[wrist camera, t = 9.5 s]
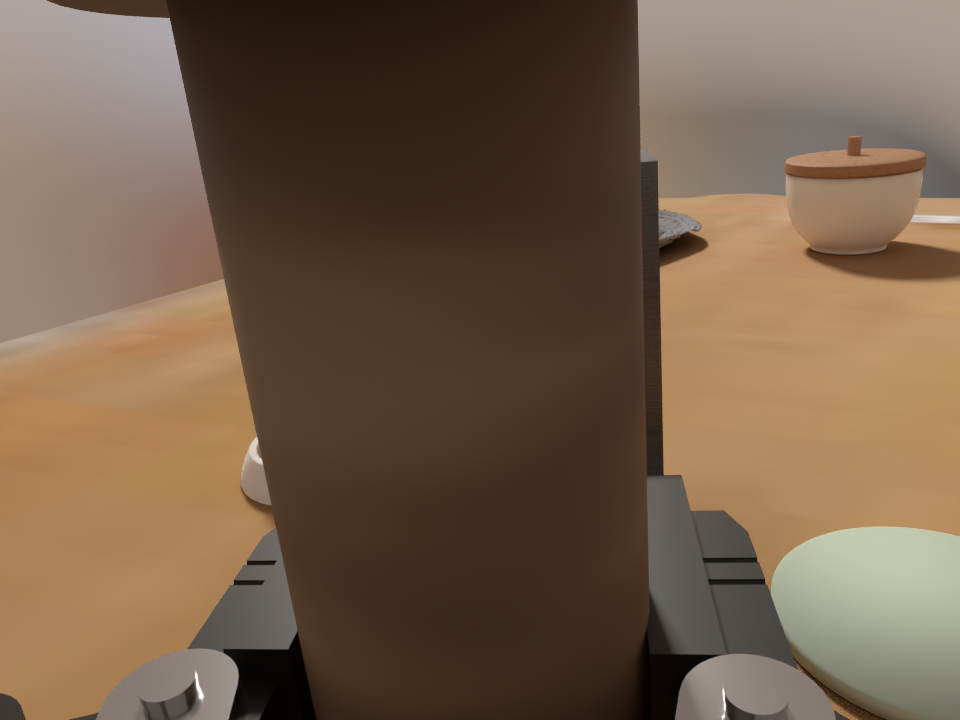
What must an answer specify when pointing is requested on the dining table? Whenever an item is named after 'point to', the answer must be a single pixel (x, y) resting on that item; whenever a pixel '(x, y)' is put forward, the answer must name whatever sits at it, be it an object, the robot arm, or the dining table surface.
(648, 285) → the eye bracket
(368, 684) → the peg
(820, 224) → the lidded jar
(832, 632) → the coaster
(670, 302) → the dining table surface
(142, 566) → the dining table surface
